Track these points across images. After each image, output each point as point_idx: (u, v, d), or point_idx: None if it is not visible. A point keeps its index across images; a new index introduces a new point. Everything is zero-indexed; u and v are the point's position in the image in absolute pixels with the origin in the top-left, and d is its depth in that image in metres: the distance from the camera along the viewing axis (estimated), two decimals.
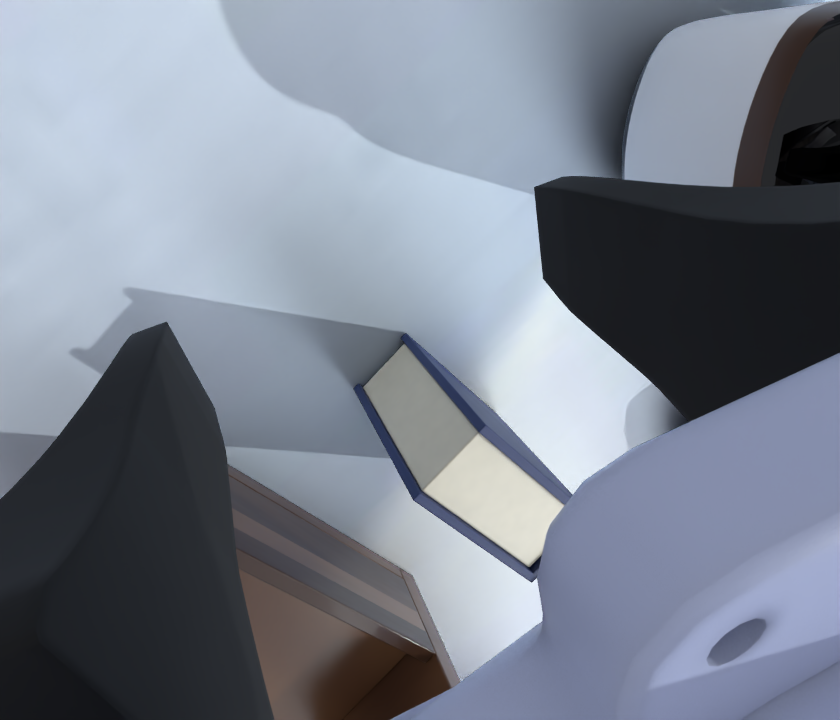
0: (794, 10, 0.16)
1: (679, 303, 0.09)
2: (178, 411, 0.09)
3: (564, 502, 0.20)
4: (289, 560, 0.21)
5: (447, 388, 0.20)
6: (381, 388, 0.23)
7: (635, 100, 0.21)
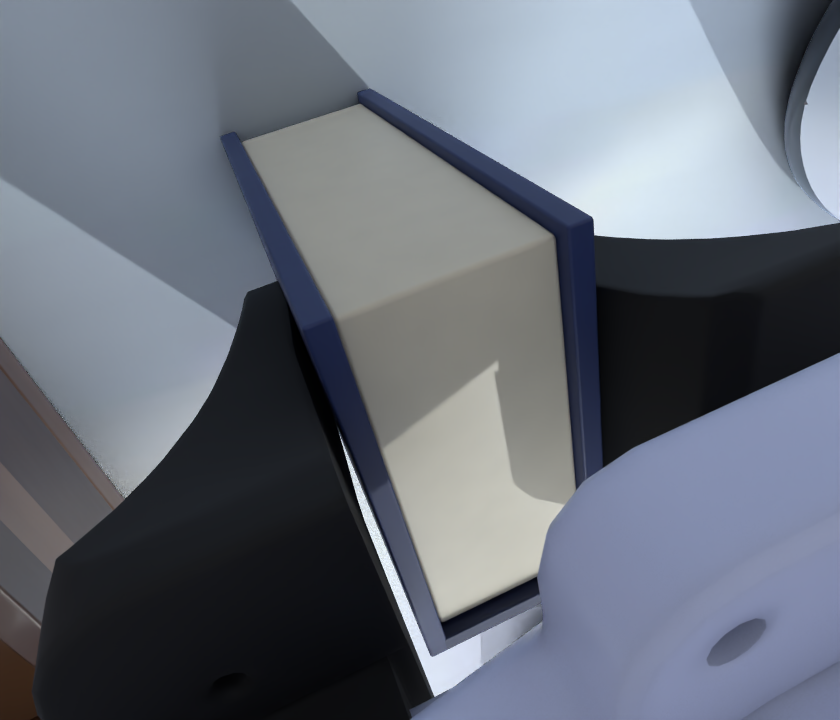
0: None
1: None
2: (307, 360, 0.09)
3: None
4: None
5: (465, 153, 0.08)
6: (285, 146, 0.10)
7: None
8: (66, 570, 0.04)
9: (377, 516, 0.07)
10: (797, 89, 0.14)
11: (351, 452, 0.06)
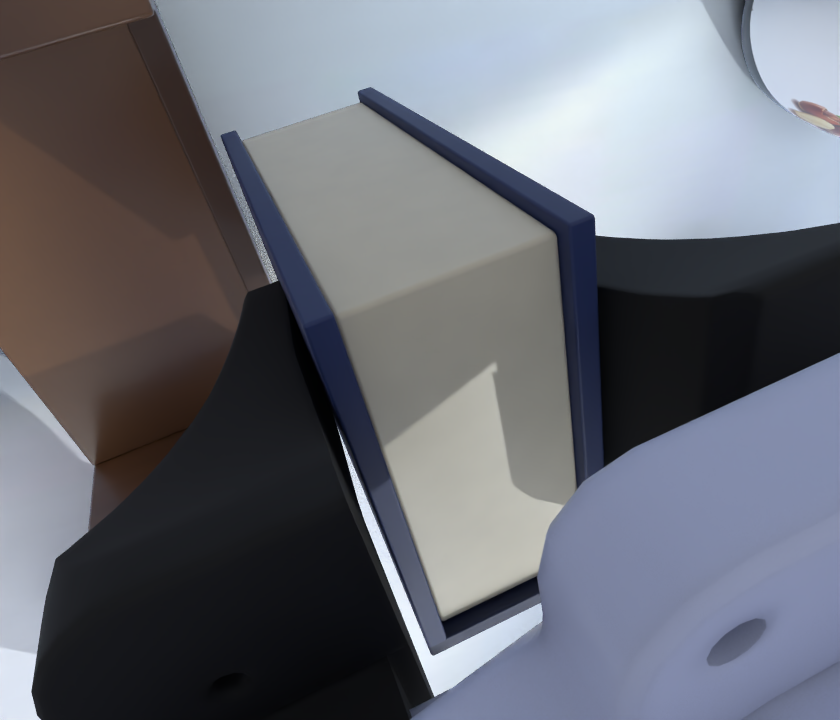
0: None
1: None
2: (307, 360, 0.09)
3: None
4: None
5: (466, 151, 0.08)
6: (285, 144, 0.10)
7: None
8: (66, 570, 0.04)
9: (378, 514, 0.07)
10: (747, 1, 0.20)
11: (352, 450, 0.06)
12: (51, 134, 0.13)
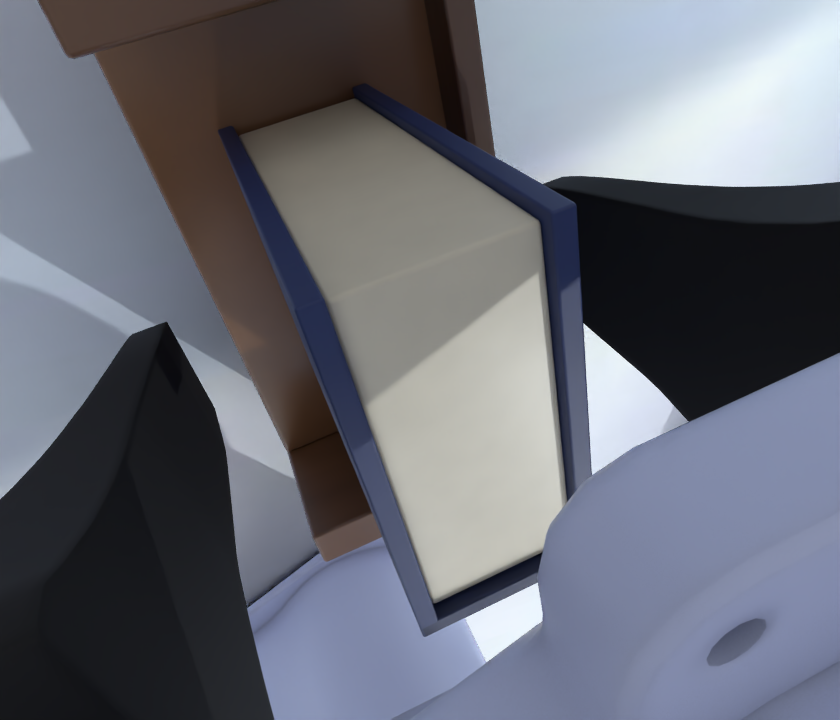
0: None
1: (679, 303, 0.09)
2: (178, 411, 0.09)
3: None
4: None
5: (456, 144, 0.08)
6: (281, 139, 0.11)
7: None
8: None
9: (369, 495, 0.07)
10: None
11: (343, 431, 0.07)
12: (318, 81, 0.12)
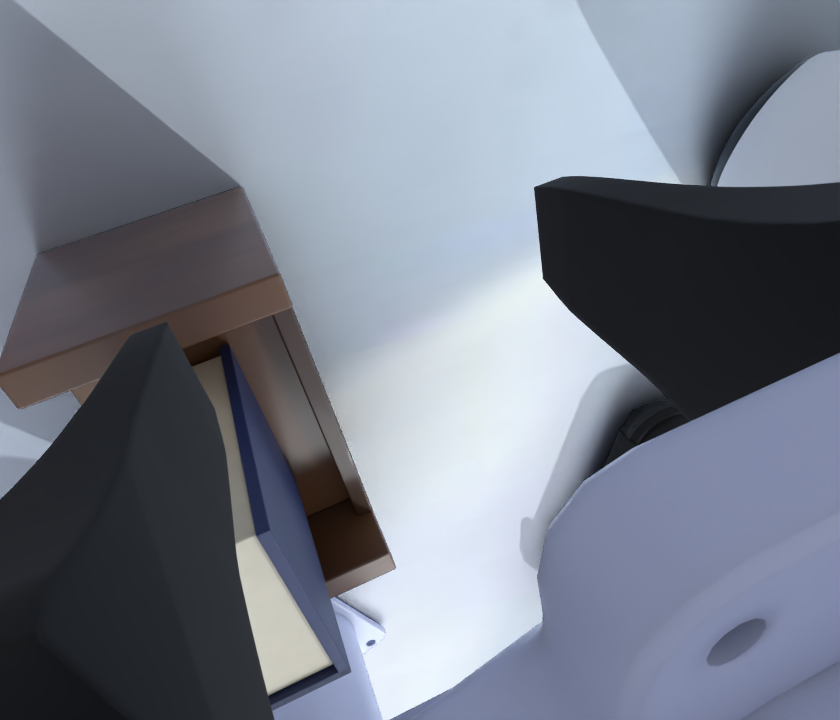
0: None
1: (679, 303, 0.09)
2: (178, 411, 0.09)
3: (324, 646, 0.15)
4: None
5: (244, 448, 0.14)
6: None
7: (776, 91, 0.23)
8: None
9: None
10: (712, 182, 0.25)
11: None
12: (195, 347, 0.18)
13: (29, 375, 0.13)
